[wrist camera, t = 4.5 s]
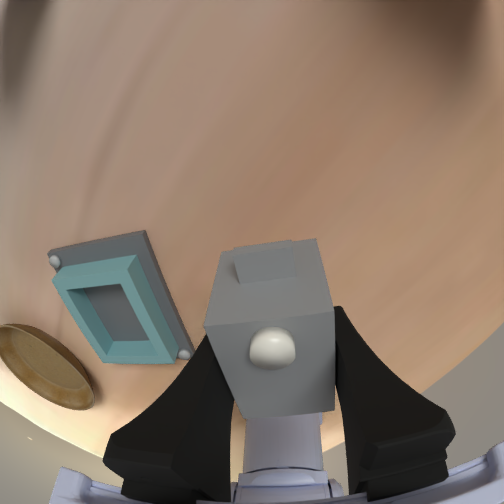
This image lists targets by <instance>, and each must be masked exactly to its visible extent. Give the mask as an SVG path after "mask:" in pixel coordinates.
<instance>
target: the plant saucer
mask: <svg viewBox="0 0 504 504" xmlns="http://www.w3.org/2000/svg"><path fill="white" fill-rule="evenodd" d="M0 357H1V359H2V360H3V362H4V363H5V364H6V366H7V367H8V368H9V369H10V370H11V372H12V373H13V374H14V375H15V376H16V377H17V378H18V379H19V380H20V381H21V382H23V383H24V384H25V385H26V386H27V387H28V388H30V389H31V390H32V391H34V392H35V393H37V394H38V395H40V396H41V397H43V398H45V399H47V400H48V401H50V402H52V403H55V404H57V405H59V406H62V407H65V408H68V409H73V410H87V409H90V408H91V407H92V406H93V405H94V402H95V397H94V393H93V389H92V386H91V383H90V381H89V379H88V376H87V374H86V372H85V370H84V369H83V367H82V365H81V364H80V362H79V361H78V360H77V359H76V357H75V356H74V355H73V354H72V353H71V352H70V351H69V350H68V349H67V348H66V347H65V346H64V345H62V344H61V343H60V342H59V341H57V340H56V339H55V338H53V337H52V336H50V335H48V334H47V333H45V332H43V331H41V330H39V329H37V328H35V327H32V326H27V325H21V324H5V325H0Z"/></svg>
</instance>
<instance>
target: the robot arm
mask: <svg viewBox="0 0 504 504" xmlns="http://www.w3.org/2000/svg"><path fill="white" fill-rule="evenodd" d="M334 315H335V385H336V389H337V393H338V398H339V402H340V406H341V411H342V418H343V426H344V435H345V445H346V456H347V468H348V485H349V495H347V496H344V493H343V489H342V486H341V485H340V484H339V483H338V482H337V481H336V480H335V479H328V477H327V471H323V457H322V445H321V433H320V425H321V424H322V412H320V413H312V414H303V415H293V416H283V417H270V418H253V419H246V431H245V446H244V460H243V473H240V474H239V477H238V482H231V483H230V436H231V419H232V411H233V405H234V397H233V395H232V392H231V390H230V388H229V386H228V383H227V381H226V379H225V376H224V374H223V372H222V369H221V367H220V365H219V362H218V360H217V358H216V355H215V353H214V351H213V348H212V346H211V343H210V341H209V338H208V336H207V333H206V335H205V337H204V338H203V340H202V342H201V343H200V345H199V346H198V348H197V350H196V351H195V353H194V354H193V356H192V357H191V359H190V360H189V362H188V363H187V364H186V366H185V367H184V368H183V370H182V371H181V373H180V374H179V375H178V376H177V378H176V379H175V380H174V381H173V383H172V384H171V385H170V386H169V387H168V388H167V389H166V390H165V392H164V393H163V394H162V395H161V396H160V397H159V398H158V399H157V400H156V401H155V402H154V403H152V404H151V405H150V406H149V407H148V408H147V409H146V410H144V411H143V412H142V413H141V414H140V415H138V416H137V417H136V418H134V419H133V420H132V421H130V422H129V423H128V424H126V425H125V426H123V427H121V428H120V429H118V430H117V431H115V432H114V433H112V434H111V436H110V438H109V441H108V444H107V447H106V450H105V454H104V457H103V463H104V464H105V466H107V467H108V468H109V469H110V470H112V471H113V472H115V473H116V474H118V475H119V476H120V477H122V478H123V479H124V481H123V485H122V488H120V487H116V486H112V485H108V484H104V483H100V482H97V481H93V480H92V479H91V478H89V477H88V476H86V475H84V474H82V473H80V472H77V471H74V470H71V469H68V468H65V467H61V468H60V471H59V474H58V477H57V480H56V483H55V486H54V489H53V492H52V495H51V499H50V502H49V504H500V503H502V502H504V441H502V442H500V443H498V444H496V445H495V446H493V447H492V448H491V449H490V450H489V451H488V452H487V454H485V455H482V456H480V457H478V458H476V459H473V460H471V461H468V462H466V463H464V464H461V465H459V466H456V467H453V468H450V469H447V466H446V462H445V460H446V459H447V454H446V450H445V449H446V448H447V446H448V445H449V444H450V442H451V441H452V440H453V438H454V436H455V435H456V433H455V429H454V426H453V423H452V421H451V419H450V417H449V415H448V414H447V412H446V410H445V409H443V408H441V407H439V406H438V405H436V404H434V403H433V402H431V401H429V400H428V399H426V398H425V397H423V396H422V395H421V394H419V393H418V392H416V391H415V390H414V389H412V388H411V387H410V386H409V385H407V384H406V383H405V382H404V381H402V380H401V379H400V378H399V377H398V376H397V375H395V374H394V373H393V372H392V371H391V370H390V369H389V368H388V367H387V366H386V365H385V364H384V363H383V362H382V361H381V360H380V359H379V358H378V357H377V355H376V354H375V353H374V352H373V351H372V350H371V349H370V347H369V346H368V345H367V344H366V342H365V341H364V340H363V338H362V337H361V336H360V334H359V333H358V332H357V330H356V329H355V328H354V326H353V325H352V323H351V322H350V320H349V318H348V317H347V315H346V313H345V312H344V310H343V308H342V307H341V306H335V307H334Z"/></svg>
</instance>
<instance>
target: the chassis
mask: <svg viewBox="0 0 504 504" xmlns="http://www.w3.org/2000/svg"><path fill="white" fill-rule="evenodd" d="M47 254H48V256H49V258H50V259H49V263H50V265H51V266H52V267H54V268H55V270H56V272H57V274H56V275H55V276H54V278H53V279H52V282H53V284H54V286H55V287H56V289H57V291H58V293H59V295H60V296H61V298H62V300H63V302H64V303H65V305H66V307H67V308H68V310H69V312H70V313H71V315H72V317H73V318H74V320H75V321H76V323H77V325H78V326H79V328H80V329H81V331H82V333H83V334H84V336H85V337H86V339H87V340H88V342H89V343H90V345H91V346H92V348H93V349H94V350H95V352H96V353H97V355H98V356H99V358H100V359H101V360H102V362H103V363H118V364H174V363H175V360H176V358H181V359H183V360H188V359H189V358H191V357H192V356H193V354H194V353H195V349H194V347H193V344H192V342H191V340H190V338H189V336H188V334H187V331H186V329H185V327H184V325H183V322H182V320H181V318H180V316H179V313H178V311H177V309H176V306H175V304H174V302H173V299H172V297H171V295H170V292H169V290H168V287H167V285H166V282H165V280H164V278H163V275H162V273H161V270H160V268H159V265H158V262H157V260H156V257H155V255H154V252H153V250H152V247H151V244H150V242H149V239H148V236H147V233H146V231H145V230H143V231H138V232H133V233H128V234H123V235H118V236H113V237H108V238H103V239H98V240H93V241H89V242H84V243H79V244H75V245H70V246H66V247H61V248H57V249H52V250H50V251H49V252H48V253H47Z"/></svg>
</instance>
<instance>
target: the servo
mask: <svg viewBox="0 0 504 504" xmlns="http://www.w3.org/2000/svg"><path fill="white" fill-rule="evenodd" d="M204 328H205V331H206V333H207V336H208V338H209V341H210V343H211V346H212V348H213V351H214V353H215V355H216V358H217V360H218V362H219V365H220V367H221V369H222V372H223V374H224V376H225V379H226V381H227V383H228V386H229V388H230V390H231V392H232V395H233V397H234V399H235V401H236V403H237V406H238V408H239V410H240V412H241V414H242V416H243V419H253V418H270V417H283V416H293V415H303V414H312V413H320V412H327V411H334V410H335V315H334V307H333V303H332V299H331V295H330V291H329V287H328V283H327V279H326V275H325V271H324V267H323V263H322V259H321V256H320V252H319V248H318V244H317V241H316V238H315V239H308V240H301V241H294V242H292V241H291V240H285V241H278V242H271V243H264V244H257V245H250V246H243V247H237V248H234V249H233V250H231V251H224V252H221V256H220V260H219V264H218V268H217V272H216V276H215V280H214V284H213V288H212V293H211V297H210V301H209V305H208V309H207V314H206V318H205V322H204Z"/></svg>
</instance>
